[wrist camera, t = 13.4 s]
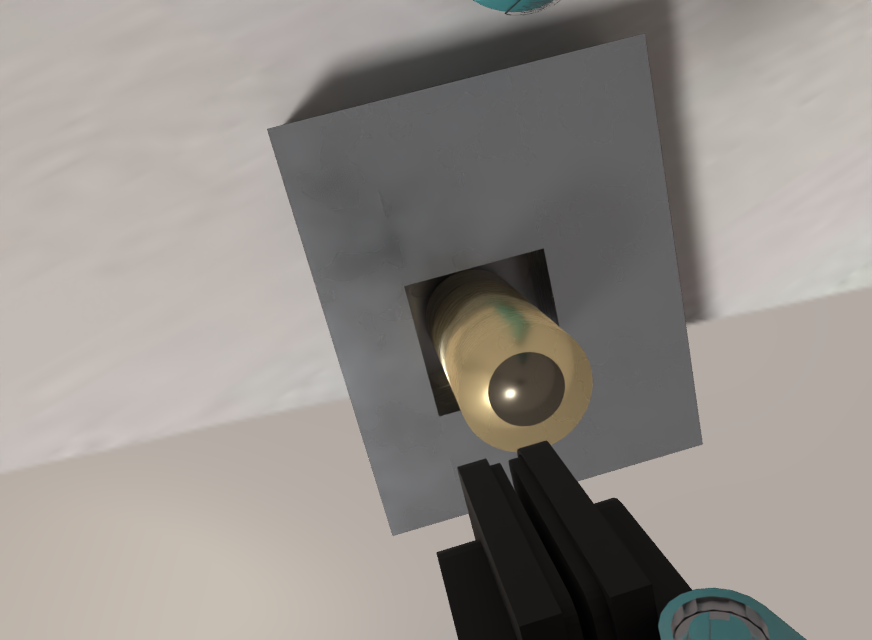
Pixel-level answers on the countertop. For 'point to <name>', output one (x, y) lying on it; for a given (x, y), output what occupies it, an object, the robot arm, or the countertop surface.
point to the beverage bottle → (514, 5)
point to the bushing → (507, 362)
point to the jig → (497, 258)
